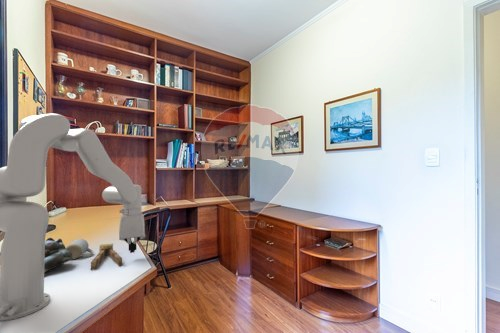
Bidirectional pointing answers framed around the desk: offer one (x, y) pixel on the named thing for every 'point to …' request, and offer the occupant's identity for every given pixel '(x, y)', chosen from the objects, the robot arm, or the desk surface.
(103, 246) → the collar
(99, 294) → the desk surface
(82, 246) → the ceramic mug
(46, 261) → the lucky cat figurine
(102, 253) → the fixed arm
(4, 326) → the desk surface
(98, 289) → the desk surface
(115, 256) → the bar
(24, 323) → the desk surface
